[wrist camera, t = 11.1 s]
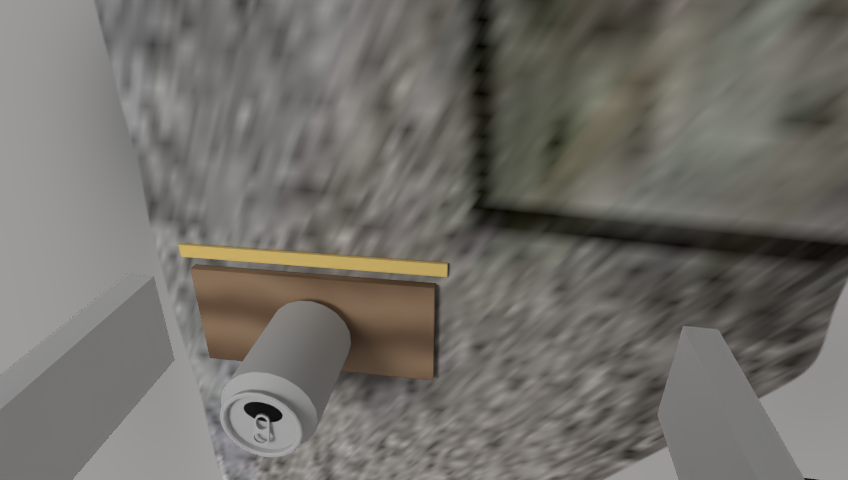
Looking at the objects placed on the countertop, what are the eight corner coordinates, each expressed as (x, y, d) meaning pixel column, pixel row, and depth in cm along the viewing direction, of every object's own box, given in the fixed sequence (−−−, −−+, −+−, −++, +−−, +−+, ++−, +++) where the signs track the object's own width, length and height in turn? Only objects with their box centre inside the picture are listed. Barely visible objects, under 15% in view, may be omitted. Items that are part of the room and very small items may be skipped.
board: (195, 264, 49) (190, 268, 48) (435, 283, 46) (434, 288, 45) (214, 352, 53) (210, 357, 52) (433, 374, 50) (433, 380, 50)
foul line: (180, 243, 48) (178, 244, 47) (447, 262, 45) (447, 264, 44) (182, 255, 48) (181, 256, 48) (447, 275, 45) (447, 277, 45)
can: (356, 303, 47) (311, 400, 36) (351, 369, 50) (308, 475, 40) (274, 288, 47) (206, 379, 37) (274, 354, 51) (212, 454, 40)
